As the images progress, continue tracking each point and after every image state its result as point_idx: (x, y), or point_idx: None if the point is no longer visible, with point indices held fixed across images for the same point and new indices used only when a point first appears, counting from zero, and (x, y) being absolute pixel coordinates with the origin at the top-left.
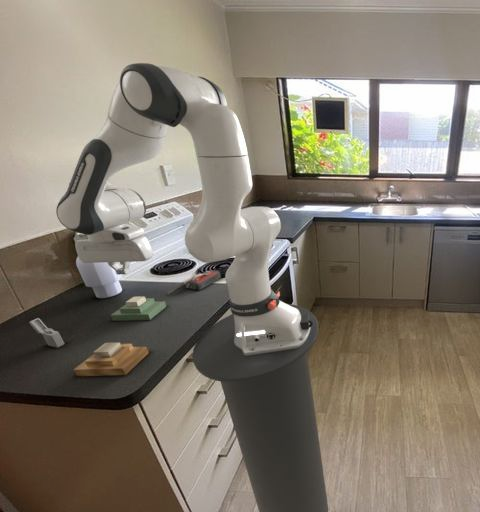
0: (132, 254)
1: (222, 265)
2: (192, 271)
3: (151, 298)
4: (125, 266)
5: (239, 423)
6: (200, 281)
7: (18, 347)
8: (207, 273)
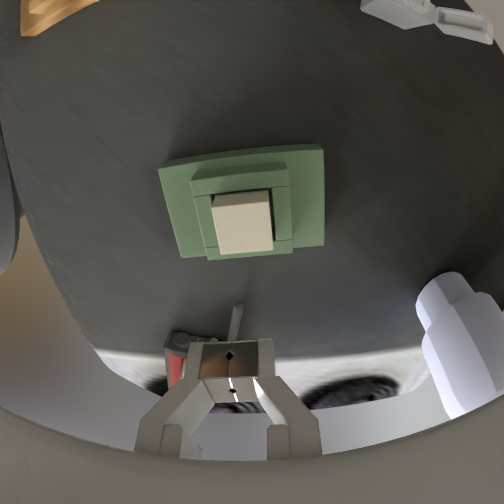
0: (7, 474)
1: (228, 412)
2: None
3: (214, 258)
4: (159, 406)
5: None
6: (170, 358)
7: None
8: None
